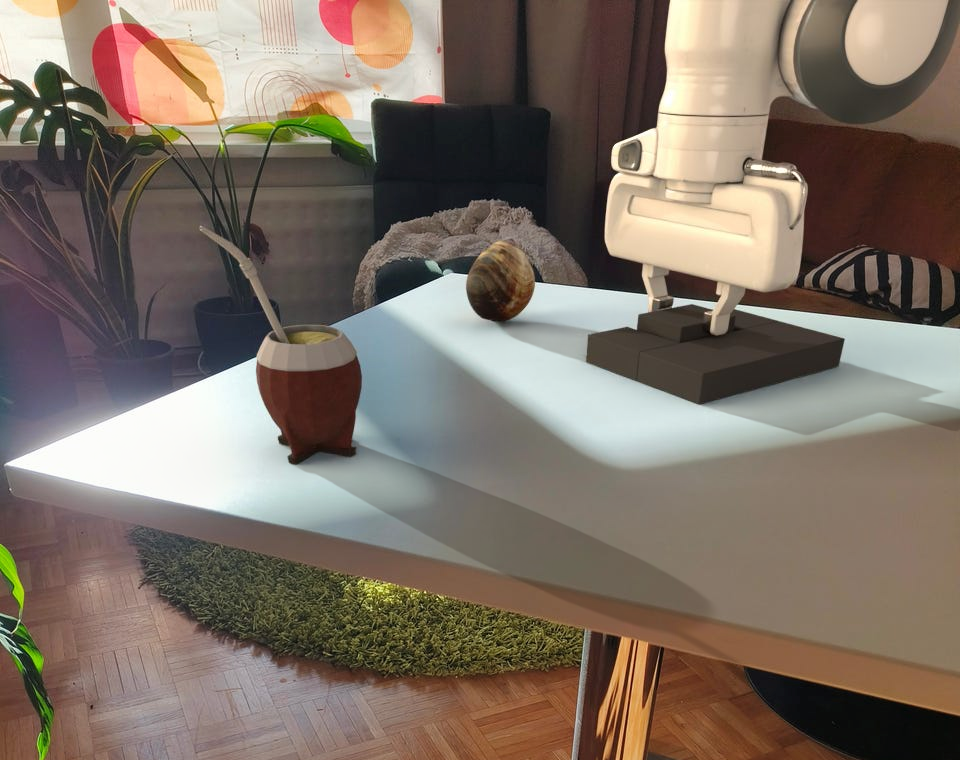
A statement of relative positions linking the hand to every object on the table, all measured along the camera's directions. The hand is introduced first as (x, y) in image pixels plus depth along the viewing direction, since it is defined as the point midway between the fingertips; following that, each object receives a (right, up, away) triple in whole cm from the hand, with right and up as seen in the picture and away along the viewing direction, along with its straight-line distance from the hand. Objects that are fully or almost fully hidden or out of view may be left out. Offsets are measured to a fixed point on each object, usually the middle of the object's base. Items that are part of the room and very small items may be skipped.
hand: (686, 324), depth 82 cm
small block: (0, -1, +1) cm, 2 cm away
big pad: (+2, -4, -1) cm, 5 cm away
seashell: (-17, +4, +11) cm, 21 cm away
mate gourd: (-31, -16, -18) cm, 39 cm away
